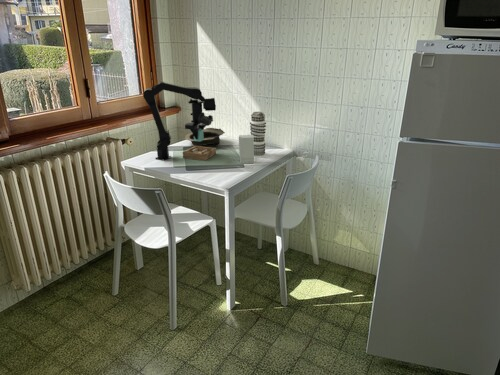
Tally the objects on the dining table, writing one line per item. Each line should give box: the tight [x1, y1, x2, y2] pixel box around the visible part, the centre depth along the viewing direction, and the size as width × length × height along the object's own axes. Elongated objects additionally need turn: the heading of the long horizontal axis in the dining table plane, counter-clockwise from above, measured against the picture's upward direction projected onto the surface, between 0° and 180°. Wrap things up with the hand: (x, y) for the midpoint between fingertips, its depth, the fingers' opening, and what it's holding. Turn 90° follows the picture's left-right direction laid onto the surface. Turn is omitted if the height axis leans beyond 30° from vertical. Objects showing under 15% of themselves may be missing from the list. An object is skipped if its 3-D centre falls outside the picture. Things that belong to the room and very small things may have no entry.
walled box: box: [182, 145, 217, 162], centre depth 224 cm, size 14×14×4 cm
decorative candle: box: [249, 111, 267, 158], centre depth 220 cm, size 9×9×25 cm
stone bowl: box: [184, 127, 226, 147], centre depth 245 cm, size 25×25×9 cm
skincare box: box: [238, 134, 255, 164], centre depth 211 cm, size 8×6×15 cm
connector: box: [194, 128, 204, 142], centre depth 220 cm, size 4×4×7 cm
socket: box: [192, 148, 207, 154], centre depth 224 cm, size 5×7×3 cm
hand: (198, 138), depth 221 cm, fingers closed on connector, 4 cm apart
